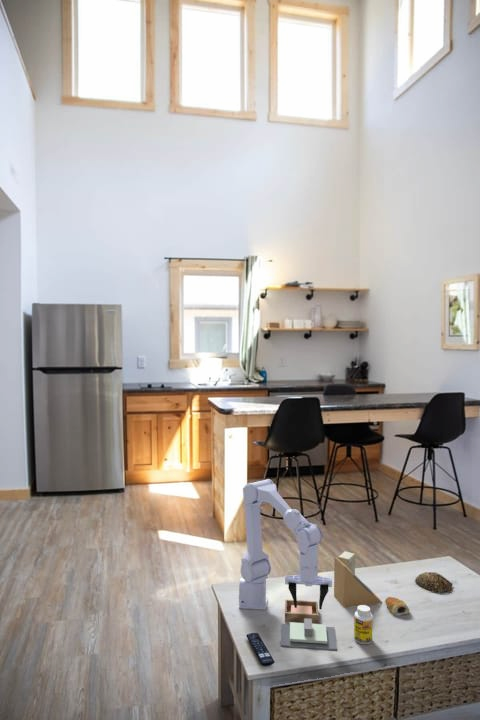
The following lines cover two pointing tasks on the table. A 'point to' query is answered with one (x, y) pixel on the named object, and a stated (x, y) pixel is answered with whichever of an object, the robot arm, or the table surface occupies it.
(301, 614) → the walnut box
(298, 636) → the lid
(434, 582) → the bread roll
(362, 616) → the supplement bottle
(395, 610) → the pastry
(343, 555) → the skincare box
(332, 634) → the slate mat
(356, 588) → the sandwich container
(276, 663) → the table surface
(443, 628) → the table surface
